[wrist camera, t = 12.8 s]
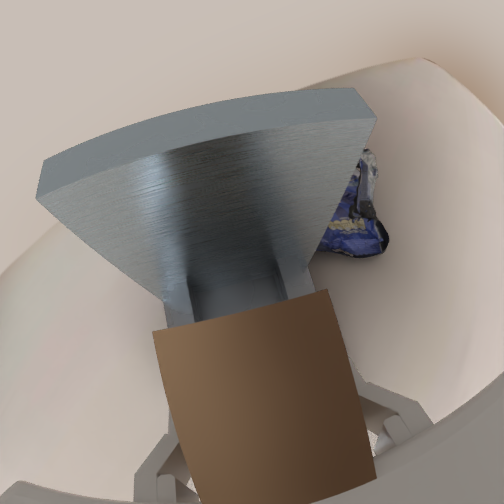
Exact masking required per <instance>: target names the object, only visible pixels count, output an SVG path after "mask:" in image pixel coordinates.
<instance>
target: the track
mask: <svg viewBox="0 0 504 504" xmlns="http://www.w3.org/2000/svg"><path fill="white" fill-rule="evenodd" d="M376 120H377V117H376V116H375V114H374V113H373V112H372V110H371V109H370V108H369V106H368V105H367V104H366V103H365V101H364V100H363V99H362V98H361V96H360V95H359V94H358V93H357V91H356V90H355V89H354V88H331V89H312V90H299V91H288V92H280V93H270V94H263V95H256V96H249V97H243V98H237V99H231V100H225V101H220V102H215V103H210V104H206V105H201V106H197V107H193V108H189V109H184V110H180V111H176V112H173V113H169V114H165V115H161V116H158V117H154V118H151V119H148V120H145V121H142V122H138V123H135V124H132V125H129V126H126V127H123V128H120V129H117V130H115V131H112V132H109V133H106V134H104V135H101V136H99V137H96V138H93V139H91V140H88V141H86V142H83V143H81V144H79V145H76V146H74V147H72V148H69V149H67V150H65V151H63V152H61V153H58V154H56V155H54V156H52V157H50V158H48V159H46V160H44V162H43V166H42V170H41V175H40V179H39V184H38V188H37V194H36V200H37V201H38V202H39V203H41V205H43V206H44V207H45V208H46V209H47V210H48V211H49V212H50V213H51V214H53V215H54V216H55V217H56V218H57V219H58V220H59V221H60V222H61V223H63V224H64V225H65V226H66V227H67V228H68V229H70V230H71V231H72V232H73V233H74V234H75V235H77V236H78V237H79V238H80V239H81V240H83V241H84V242H85V243H86V244H87V245H89V246H90V247H91V248H92V249H94V250H95V251H96V252H97V253H99V254H100V255H101V256H102V257H104V258H105V259H106V260H107V261H109V262H110V263H111V264H113V265H114V266H115V267H117V268H118V269H119V270H120V271H122V272H123V273H124V274H126V275H127V276H128V277H130V278H131V279H133V280H134V281H135V282H137V283H138V284H139V285H141V286H142V287H144V288H145V289H146V290H148V291H149V292H151V293H152V294H153V295H155V296H156V297H158V298H159V299H161V300H162V301H163V304H164V309H165V315H166V320H167V326H168V328H173V327H178V326H183V325H187V324H192V323H196V322H201V321H205V320H210V319H214V318H218V317H223V316H227V315H231V314H235V313H239V312H243V311H247V310H251V309H255V308H259V307H263V306H267V305H271V304H274V303H278V302H282V301H286V300H289V299H293V298H297V297H300V296H304V295H307V294H311V293H314V292H316V290H315V287H314V284H313V281H312V278H311V275H310V272H309V269H308V264H309V262H310V260H311V258H312V256H313V255H314V253H315V251H316V249H317V247H318V245H319V243H320V241H321V239H322V237H323V235H324V233H325V231H326V229H327V227H328V225H329V223H330V221H331V219H332V217H333V215H334V213H335V211H336V209H337V207H338V204H339V202H340V200H341V198H342V196H343V194H344V192H345V190H346V188H347V185H348V183H349V181H350V179H351V177H352V175H353V172H354V170H355V168H356V166H357V164H358V161H359V159H360V157H361V155H362V152H363V150H364V148H365V146H366V143H367V141H368V139H369V136H370V134H371V132H372V129H373V127H374V125H375V122H376Z"/></svg>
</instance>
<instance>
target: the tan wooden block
mask: <svg viewBox="0 0 504 504" xmlns="http://www.w3.org/2000/svg"><path fill="white" fill-rule="evenodd" d="M152 333H153V338H154V344H155V349H156V354H157V358H158V363H159V368H160V372H161V376H162V381H163V385H164V389H165V393H166V397H167V401H168V405H169V408H170V412H171V416H172V419H173V423H174V426H175V429H176V433H177V436H178V439H179V442H180V446H181V449H182V452H183V455H184V458H185V461H186V464H187V466H188V469H189V472H190V475H191V477H192V480H193V483H194V485H195V488H196V491H197V493H198V496H199V498H200V501H201V503H202V504H311V503H314V502H317V501H320V500H324V499H327V498H330V497H333V496H335V495H338V494H341V493H344V492H346V491H349V490H351V489H354V488H356V487H359V486H361V485H364V484H366V483H368V482H371V481H373V480H375V479H377V476H376V470H375V465H374V460H373V456H372V451H371V446H370V442H369V437H368V433H367V428H366V424H365V420H364V416H363V412H362V408H361V403H360V400H359V396H358V392H357V388H356V384H355V380H354V377H353V373H352V369H351V366H350V362H349V359H348V355H347V352H346V348H345V345H344V341H343V338H342V335H341V331H340V328H339V325H338V321H337V318H336V315H335V312H334V309H333V305H332V302H331V299H330V296H329V293H328V290H327V289H325V290H321V291H318V292H314V293H311V294H307V295H304V296H300V297H297V298H293V299H289V300H286V301H282V302H278V303H274V304H271V305H267V306H263V307H259V308H255V309H251V310H247V311H243V312H239V313H235V314H231V315H227V316H223V317H218V318H214V319H210V320H205V321H201V322H196V323H192V324H187V325H183V326H178V327H173V328H168V329H163V330H158V331H153V332H152Z"/></svg>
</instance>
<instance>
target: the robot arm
mask: <svg viewBox="0 0 504 504" xmlns="http://www.w3.org/2000/svg"><path fill="white" fill-rule="evenodd" d="M348 359H349V362H350V366H351V369H352V373H353V377H354V380H355V384H356V388H357V392H358V396H359V400H360V403H361V408H362V412H363V416H364V420H365V424H366V428H367V429H368V430H370V431H371V432H373V433H375V434H376V435H378V436H379V437H378V439H377V442H376V444H375V447H374V449H373V450H374V452H375V454H376V456H374V457H373V460H374V465H375V470H376V476H377V479H375V480H373V481H371V482H368V483H366V484H364V485H361V486H359V487H356V488H354V489H351V490H349V491H346V492H344V493H341V494H338V495H335V496H333V497H330V498H327V499H324V500H320V501H317V502H314V503H311V504H504V372H502V373H501V374H500V375H499V376H498V377H497V378H496V379H495V380H493V381H492V382H491V383H490V384H489V385H488V386H486V387H485V388H484V389H483V390H482V391H480V392H479V393H478V394H477V395H475V396H474V397H473V398H471V399H470V400H469V401H467V402H466V403H465V404H463V405H462V406H461V407H459V408H458V409H456V410H455V411H454V412H452V413H451V414H449V415H448V416H446V417H445V418H443V419H442V420H440V421H439V422H437V423H435V424H433V422H432V421H431V420H430V418H429V417H428V415H427V414H426V413H425V411H424V410H423V408H422V407H421V406H420V404H419V403H418V402H417V401H414V400H412V399H409V398H406V397H404V396H401V395H399V394H396V393H394V392H392V391H389V390H387V389H384V388H382V387H380V386H377V385H375V384H372V383H370V382H369V383H366V382H365V381H364V379H363V378H362V376H361V375H360V373H359V372H358V370H357V368H356V367H355V365H354V364H353V362H352V361H351V359H350V358H349V357H348ZM190 477H191V475H190V472H189V469H188V466H187V464H186V461H185V458H184V455H183V452H182V449H181V446H180V442H179V439H178V436H177V433H176V429H175V426H174V423H173V419H172V416H171V412H170V408H169V422H168V434H164V436H163V437H162V439H161V440H160V441H159V443H158V444H157V445H156V447H155V448H154V449H153V451H152V452H151V453H150V455H149V456H148V457H147V459H146V460H145V461H144V463H143V464H142V465H141V466H140V468H139V469H138V470H137V472H136V473H135V478H134V502H128V501H117V500H108V499H100V498H93V497H87V496H81V495H76V494H71V493H66V492H62V491H58V490H53V489H50V488H46V487H42V486H39V485H35V484H32V483H29V482H26V481H17V482H16V483H14V484H13V485H12V486H11V487H10V488H8V489H7V490H6V491H5V492H4V493H3V494H2V495H1V496H0V504H202V503H201V501H200V502H199V497H198V495H197V494H196V493H195V492H193V491H192V490H191V489H189V488H188V487H187V486H186V485H187V483H188V481H189V479H190Z"/></svg>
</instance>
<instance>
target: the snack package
mask: <svg viewBox="0 0 504 504" xmlns="http://www.w3.org/2000/svg"><path fill="white" fill-rule="evenodd" d="M375 160H376V157H375V156H374V154H372V153H371V151H370V150H369V149H365V150H363V152H362V155H361V157H360V159H359V163H358V164H357V166H356V168H360V171H358V170H357V169H356V168H355V170H354V172H353V175H352V177H351V179H350V181H349V183H348V185H347V188H346V190H345V192H344V194H343V196H342V198H341V200H340V201H341V203H339V204H338V207H337V209H336V211H335V213H334V215H333V217H332V219H331V221H330V223H329V225H328V227H327V229H326V231H325V233H324V235H323V237H322V239H321V241H320V243H319V245H318V247H317V249H316V250H317V251H328V252H333V253H337V254H342V255H346V256H350V255H349V254H345V253H344V252H342V251H341V252H340V251H339V252H336V251H333V250H332V249H339V248H340V249H341V250H343V251H346V252H349V253H350V254H353V257H355V258H365V257H370V256H374V255H378V254H382V253H384V252H385V250H386V248H387V245H388V243H389V236H388V233H387V232H386V230H385V228H384V226H383V225H382V223H381V222H380V221H379V220H378V218H377V217H376V212H375V210H374V207H373V193H374V186H375V182H376V179H377V178H378V174H377V173H378V170H377V167H376V161H375ZM350 257H352V256H350Z"/></svg>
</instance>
